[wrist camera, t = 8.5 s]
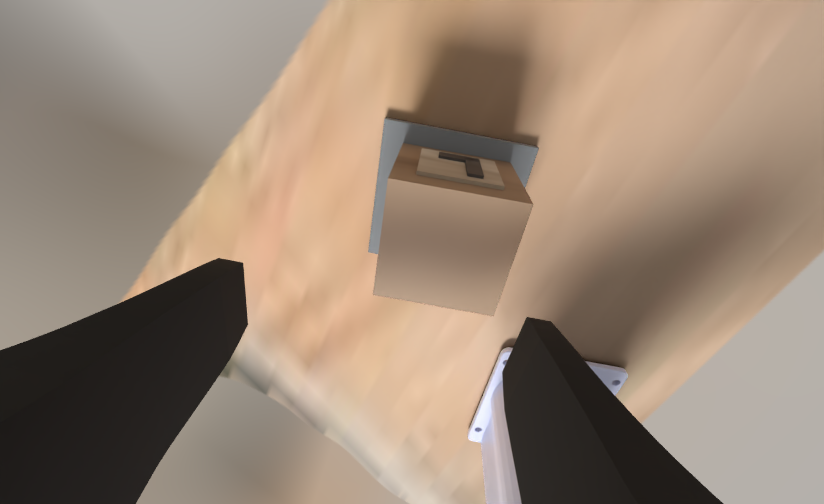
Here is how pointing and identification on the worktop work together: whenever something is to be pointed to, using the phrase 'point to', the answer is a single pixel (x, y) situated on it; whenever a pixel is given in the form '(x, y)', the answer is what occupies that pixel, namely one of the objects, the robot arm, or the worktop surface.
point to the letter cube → (450, 229)
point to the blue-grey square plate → (442, 140)
